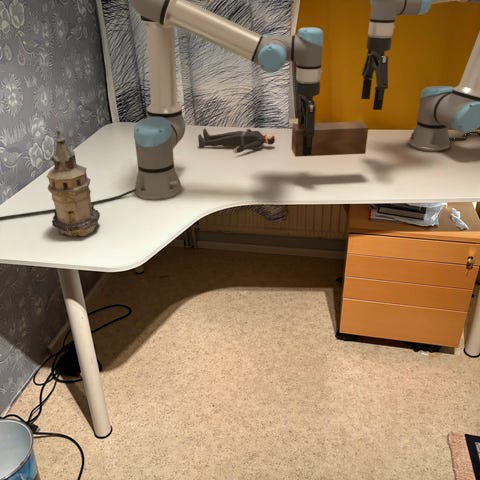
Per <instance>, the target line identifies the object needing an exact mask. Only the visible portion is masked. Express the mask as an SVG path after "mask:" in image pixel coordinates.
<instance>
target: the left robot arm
mask: <svg viewBox="0 0 480 480" xmlns="http://www.w3.org/2000/svg"><path fill="white" fill-rule="evenodd" d="M130 3H131V6H132V7H133V9H134V10H135V12H136V13H138V15H140V21H141V23H142V24H143V25H144V26H145V29H146V43H147V45H146V46H147V59H148V61H147V63H148V75H149V76H148V77H149V91H150V104H149V105H147V106H146V116H147V117H145V118H142V119H139V120H138V121H137V122H136V123H135V125H134V127H133V139H134V144H135V154H136V161H137V175H136V179H135V184H134V189H131V190H128V191H126V192H124V193H121V194H119V195H115V196H112V197H108V198H104V199H99V200H98V199H97V200H95V201H91V205H93V204H94V205H95V204H100V203H104V202H110V201H113V200H116V199H120V198H123V197H125V196H128V195H130V194H132V193H135V195H136V196H137V197H138V198H141V199H143V200H148V201H161V200H168V199H171V198H174V197H176V196H178V195H179V194H180V193H181V192H182V183H181V180H180V177H179V176H178V173H177V171H176V169H175V161H174V160H175V159H174V158H175V157H174V149H175V148H176V146H177V145H178V144H179V143H180V142H181V140H182V139H183V138H184V135H185V132H186V128H187V124H186V119H185V117H184V115H183V108H182V106H181V104H179V102H178V91H177V63H176V62H177V61H176V41H175V38H176V37H175V27H176V28H178V29H179V30H182V31H183V32H186V33H188V34H191V35H193V36H195V37H198V38H200V39H201V40H204V41H207V42H208V43H211V44H213V45H215V46H217V47H219V48H221V49H224V50H226V51H228V52H230V53H233V54H234V55H237V56H239V57H241V58H243V59H245V60H248V61H250V62H252V63H254V64H256V65H258V66H259V67H260V68H261V69H262V70H263V71H264V72H265V73H271V74H273V73H277V72H279V71H280V70H281V69H282V68H283V67H284V66H285V64H286V62H296V71H295V72H296V73H295V74H296V75H295V80H296V82H295V94H296V95H298V98H299V99H298V100H299V101H298V102H299V103H298V117H297V124H304V129H305V134H304V135H302V137H304V139H303V156H302V157H312V156H311V152H312V137H314V126H315V123H316V122H315V121H316V108H317V107H316V103H315V102H316V101H315V100H314V97H315V96H318V95H320V93H321V82H320V81H321V74H322V73H323V69H322V59H323V50H324V49H323V47H324V32H323V30H322V29H321V28H318V27H311V26H310V27H301V28H299V29H298V32H297V34H294V35H291V34H290V35H288V34H287V35H285V34H264V35H263V34H259V33H257V32H256V31H253V30H251V29H249V28H247V27H245V26H242V25H240V24H238V23H236V22H233V21H231V20H230V19H227V18H225V17H223V16H221V15H219V14H216V13H214V12H212V11H210V10H208V9H205V8H203V7H201V6H199V5H197V4H195V3H193V2H190V1H188V0H130ZM55 211H56V209H55V208H51V209H45V210H39V211H38V210H37V211H32V212H31V211H30V212H24V213H17V214H10V215H2V216H0V220H6V219H12V218H19V217H20V218H21V217H26V216H33V215H40V214H47V213H54V212H55Z"/></svg>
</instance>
